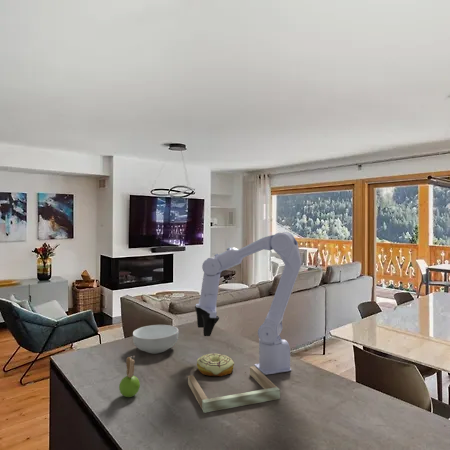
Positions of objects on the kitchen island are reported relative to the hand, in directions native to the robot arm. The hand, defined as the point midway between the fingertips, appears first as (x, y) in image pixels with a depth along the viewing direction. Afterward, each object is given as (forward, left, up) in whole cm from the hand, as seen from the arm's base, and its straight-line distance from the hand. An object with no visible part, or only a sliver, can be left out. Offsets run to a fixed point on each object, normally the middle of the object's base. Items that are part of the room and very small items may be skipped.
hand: (203, 331), depth 123 cm
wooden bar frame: (-1, +25, -10) cm, 27 cm away
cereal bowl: (+14, -16, -10) cm, 23 cm away
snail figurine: (+26, +18, -10) cm, 33 cm away
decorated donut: (-1, +9, -10) cm, 14 cm away
